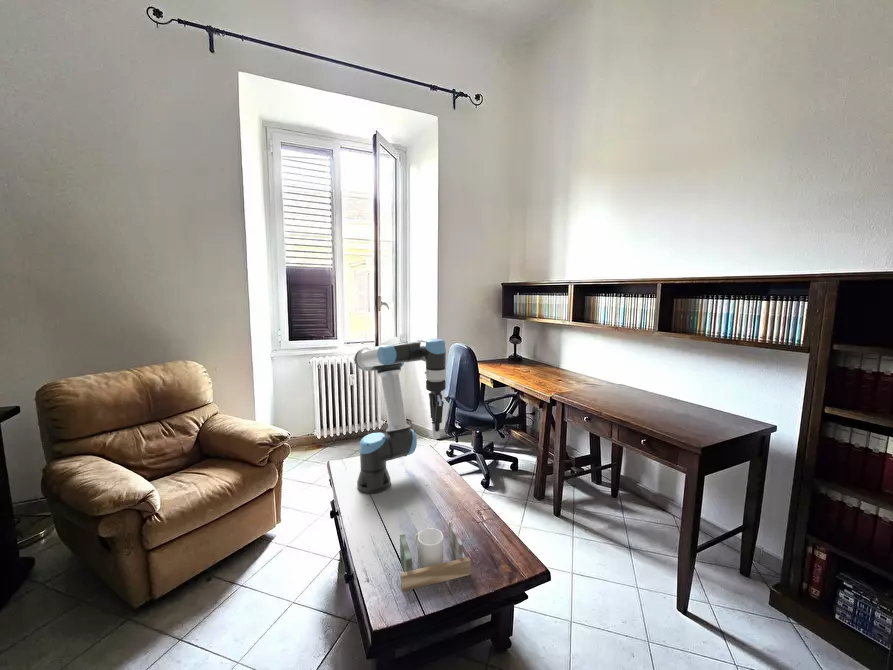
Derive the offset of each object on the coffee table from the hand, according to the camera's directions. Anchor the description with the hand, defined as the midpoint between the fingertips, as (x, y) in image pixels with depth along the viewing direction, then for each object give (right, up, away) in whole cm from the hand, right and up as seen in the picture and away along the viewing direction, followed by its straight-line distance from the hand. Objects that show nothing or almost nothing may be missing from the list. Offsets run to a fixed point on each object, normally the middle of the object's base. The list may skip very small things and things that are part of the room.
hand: (436, 437), depth 142 cm
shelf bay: (0, -36, -23) cm, 43 cm away
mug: (-2, -36, -21) cm, 41 cm away
